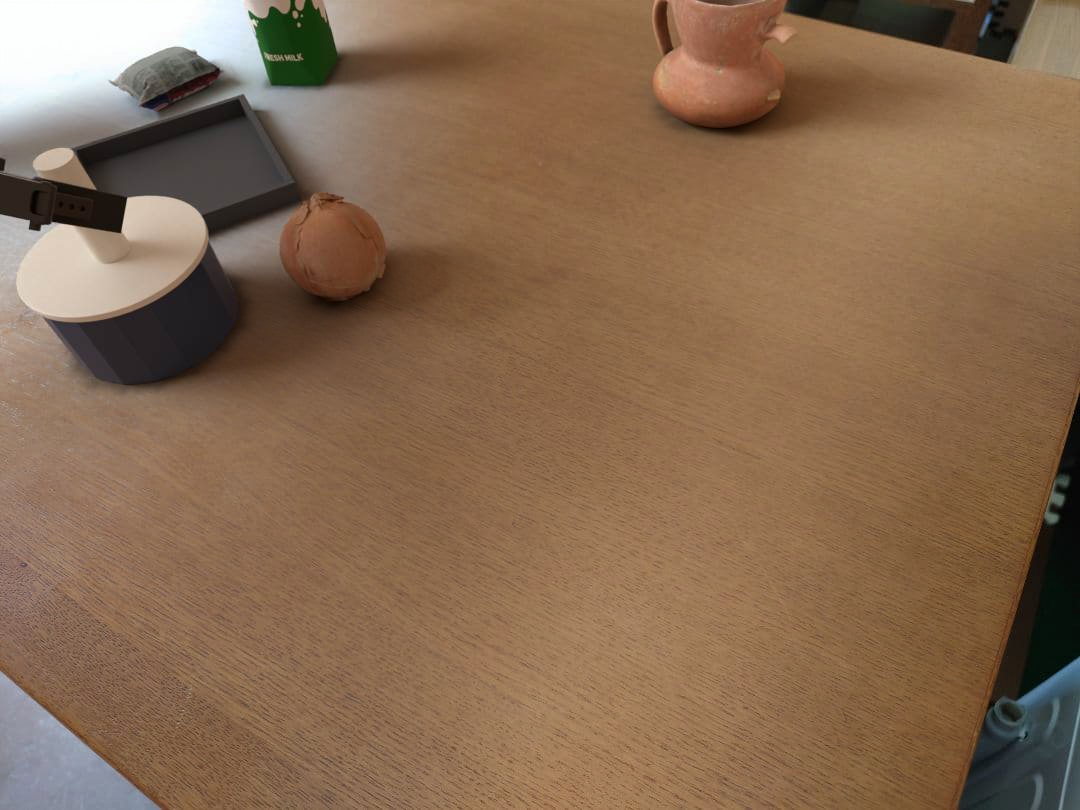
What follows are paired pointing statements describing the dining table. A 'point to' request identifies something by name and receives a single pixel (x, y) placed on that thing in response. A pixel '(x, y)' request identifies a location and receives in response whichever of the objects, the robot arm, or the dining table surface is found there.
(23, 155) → the dining table surface
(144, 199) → the tin lid
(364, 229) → the onion
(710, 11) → the ceramic jug
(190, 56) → the packaged food
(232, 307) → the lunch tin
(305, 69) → the milk carton
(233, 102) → the tray
